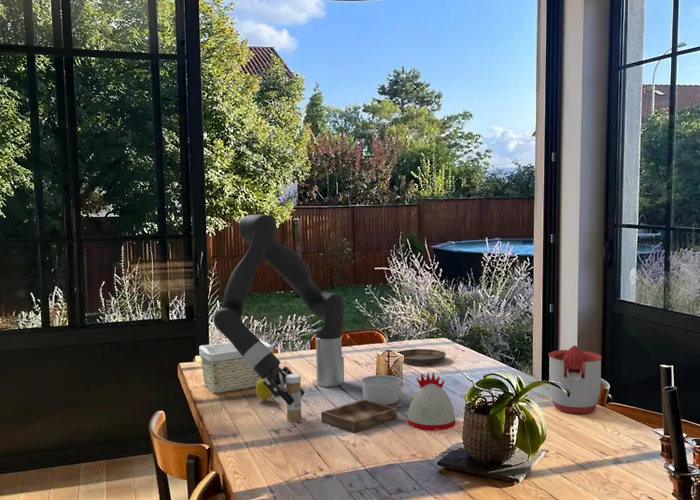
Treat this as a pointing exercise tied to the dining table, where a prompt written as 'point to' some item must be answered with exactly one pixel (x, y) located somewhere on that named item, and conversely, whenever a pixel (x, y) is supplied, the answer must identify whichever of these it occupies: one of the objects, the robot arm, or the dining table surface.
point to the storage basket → (227, 368)
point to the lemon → (262, 390)
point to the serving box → (358, 415)
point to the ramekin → (381, 389)
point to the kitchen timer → (431, 406)
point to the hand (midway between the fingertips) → (297, 399)
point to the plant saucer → (422, 356)
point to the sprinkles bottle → (294, 397)
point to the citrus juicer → (575, 379)
